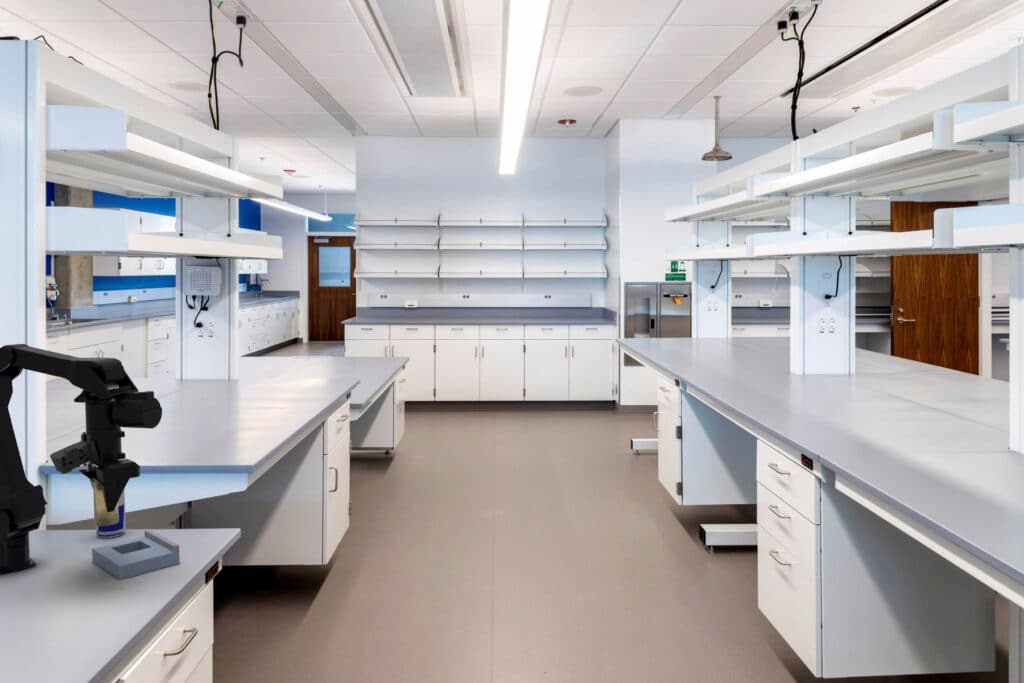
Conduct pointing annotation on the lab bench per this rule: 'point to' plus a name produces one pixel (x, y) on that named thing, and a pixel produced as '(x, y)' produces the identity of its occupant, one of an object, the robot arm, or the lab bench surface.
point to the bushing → (103, 508)
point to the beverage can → (118, 527)
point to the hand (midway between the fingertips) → (106, 509)
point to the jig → (137, 555)
